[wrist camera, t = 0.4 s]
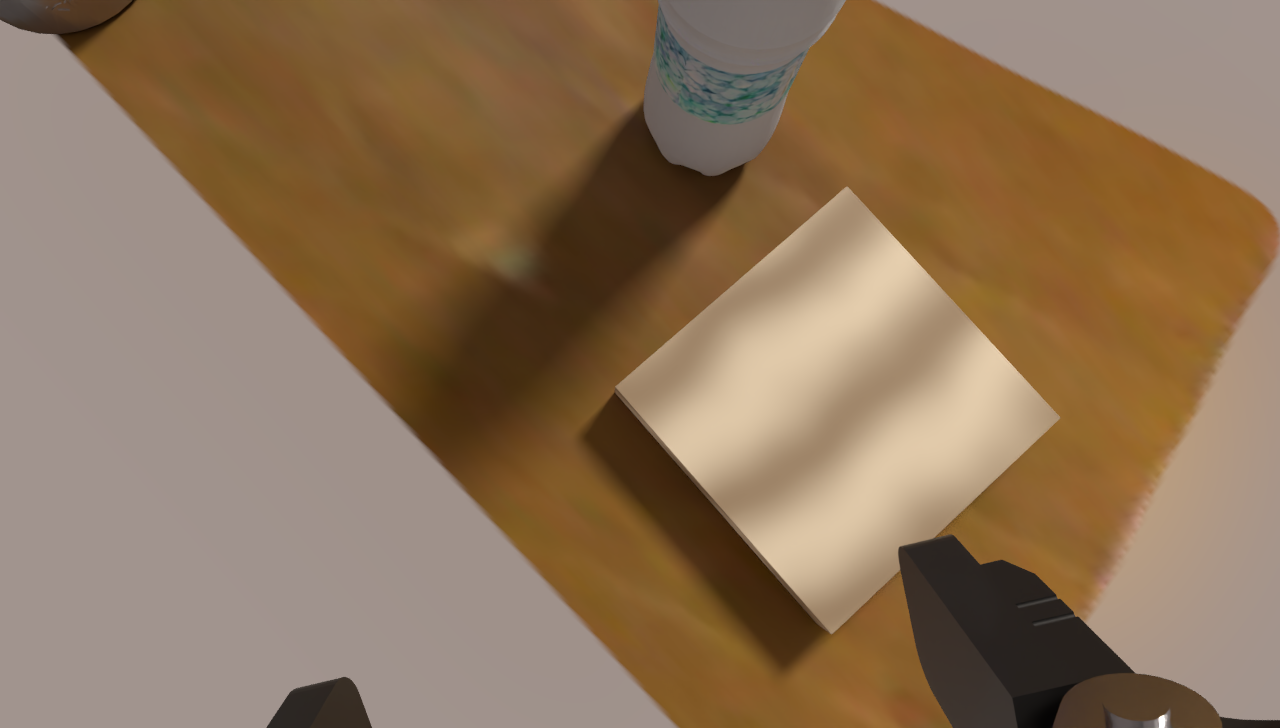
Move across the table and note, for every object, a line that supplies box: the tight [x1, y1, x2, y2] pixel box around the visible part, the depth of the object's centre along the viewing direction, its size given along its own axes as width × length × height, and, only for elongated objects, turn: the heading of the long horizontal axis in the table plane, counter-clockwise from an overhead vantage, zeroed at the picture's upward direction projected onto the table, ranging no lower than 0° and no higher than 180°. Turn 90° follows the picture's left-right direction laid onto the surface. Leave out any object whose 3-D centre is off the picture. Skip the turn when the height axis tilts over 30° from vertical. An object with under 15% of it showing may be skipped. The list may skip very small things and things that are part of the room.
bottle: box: [644, 0, 846, 176], centre depth 31 cm, size 7×7×20 cm
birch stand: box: [615, 187, 1060, 634], centre depth 38 cm, size 14×14×2 cm
